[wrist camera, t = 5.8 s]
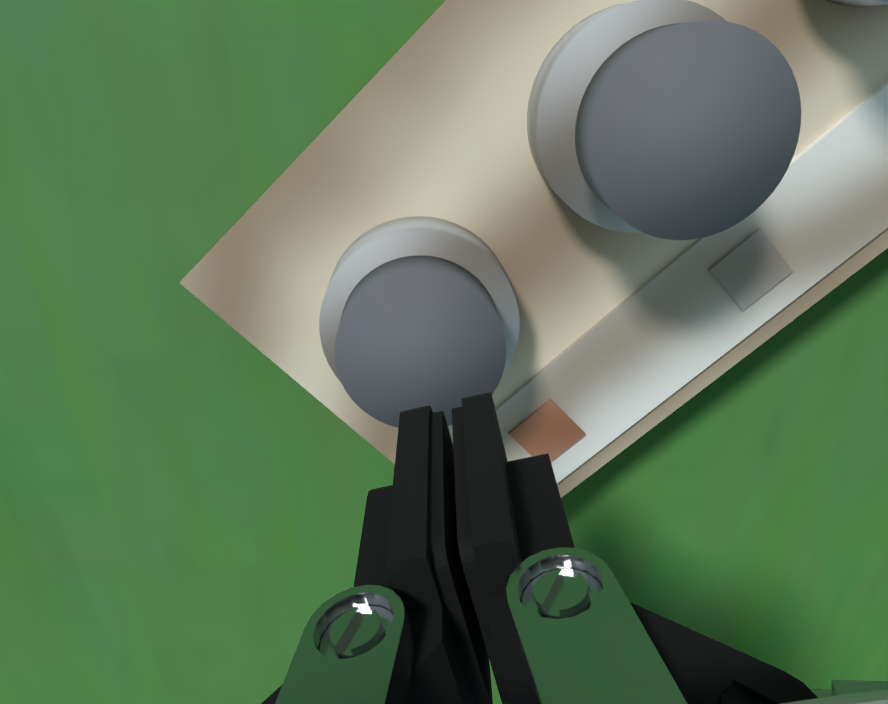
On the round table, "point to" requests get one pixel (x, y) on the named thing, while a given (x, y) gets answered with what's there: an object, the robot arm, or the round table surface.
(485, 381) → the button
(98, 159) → the round table surface
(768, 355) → the round table surface
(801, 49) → the button board
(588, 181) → the button middle
